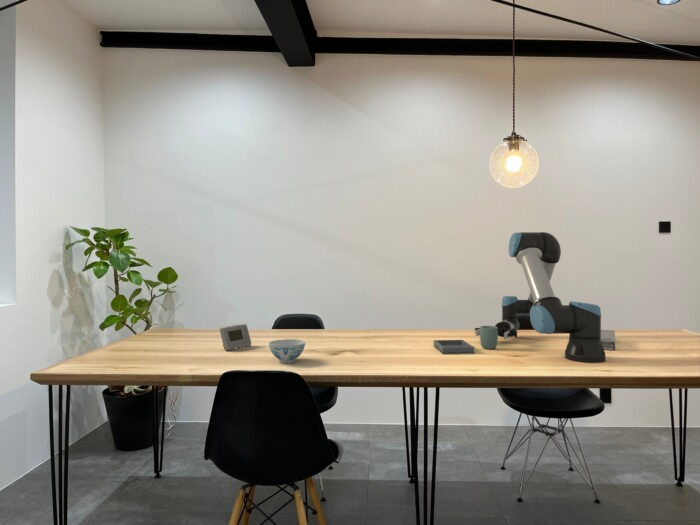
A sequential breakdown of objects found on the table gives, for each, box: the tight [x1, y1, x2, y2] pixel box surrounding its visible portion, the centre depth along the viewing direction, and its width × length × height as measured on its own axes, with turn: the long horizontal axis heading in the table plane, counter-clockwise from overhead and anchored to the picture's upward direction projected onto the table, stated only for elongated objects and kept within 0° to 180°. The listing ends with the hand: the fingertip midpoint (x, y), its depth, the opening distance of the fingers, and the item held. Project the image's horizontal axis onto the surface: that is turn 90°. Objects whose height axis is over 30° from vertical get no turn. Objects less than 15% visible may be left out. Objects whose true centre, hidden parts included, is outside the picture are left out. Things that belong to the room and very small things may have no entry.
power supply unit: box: [601, 329, 617, 352], centre depth 229 cm, size 19×33×5 cm, turn 152°
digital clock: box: [219, 323, 252, 351], centre depth 224 cm, size 16×9×11 cm, turn 133°
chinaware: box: [268, 338, 306, 364], centre depth 196 cm, size 15×15×8 cm
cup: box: [479, 325, 499, 350], centre depth 217 cm, size 8×8×10 cm
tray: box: [433, 339, 475, 355], centre depth 216 cm, size 18×14×3 cm
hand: (490, 334), depth 220 cm, fingers open, 13 cm apart
